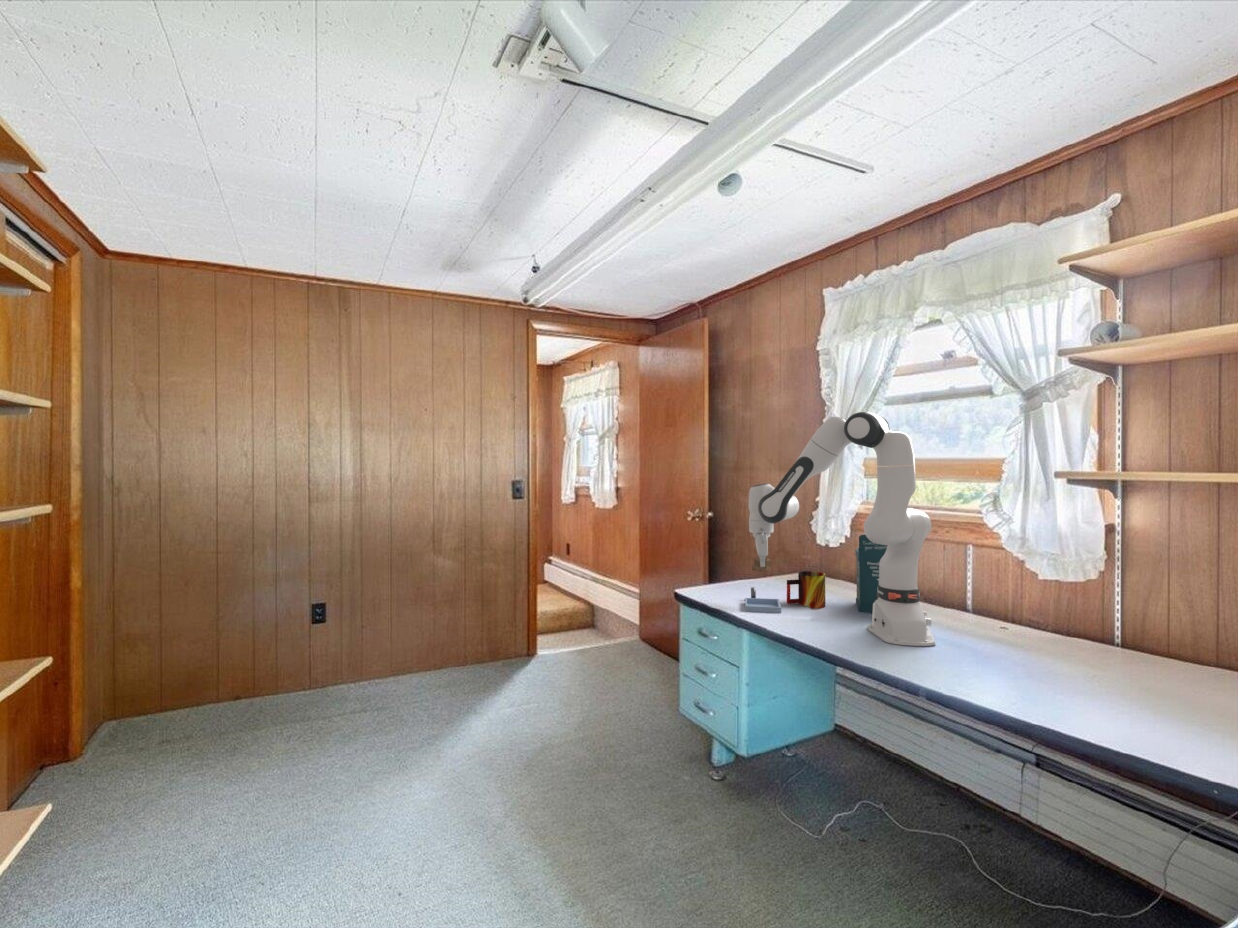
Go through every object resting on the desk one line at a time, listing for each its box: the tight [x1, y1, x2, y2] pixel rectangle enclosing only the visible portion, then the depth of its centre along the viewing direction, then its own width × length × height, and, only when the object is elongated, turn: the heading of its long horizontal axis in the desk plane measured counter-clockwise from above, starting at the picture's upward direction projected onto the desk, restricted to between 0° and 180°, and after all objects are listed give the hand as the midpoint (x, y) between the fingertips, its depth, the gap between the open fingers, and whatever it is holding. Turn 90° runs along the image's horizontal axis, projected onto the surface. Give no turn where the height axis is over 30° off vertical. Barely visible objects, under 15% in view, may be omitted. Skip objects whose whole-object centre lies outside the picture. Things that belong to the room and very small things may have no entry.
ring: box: [751, 557, 772, 573], centre depth 214 cm, size 6×7×4 cm
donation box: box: [855, 534, 888, 614], centre depth 213 cm, size 16×16×28 cm
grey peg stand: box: [743, 586, 757, 602], centre depth 224 cm, size 7×7×5 cm
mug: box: [786, 570, 826, 610], centre depth 217 cm, size 10×14×12 cm
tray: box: [744, 597, 782, 614], centre depth 213 cm, size 12×12×2 cm
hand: (762, 564), depth 214 cm, fingers closed on ring, 6 cm apart
